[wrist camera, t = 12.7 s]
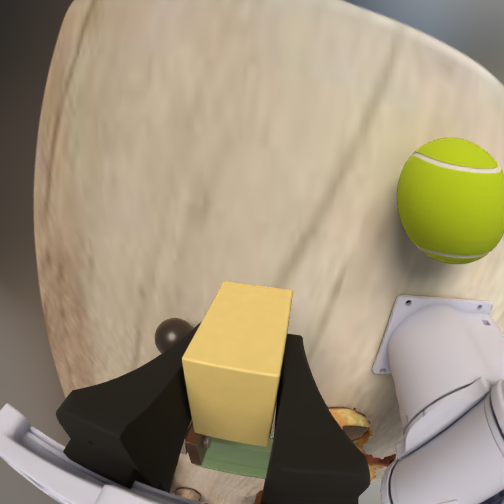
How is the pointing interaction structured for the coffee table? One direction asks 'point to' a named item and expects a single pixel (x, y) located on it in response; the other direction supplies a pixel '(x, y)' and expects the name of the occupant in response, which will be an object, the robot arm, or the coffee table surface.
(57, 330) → the coffee table surface
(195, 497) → the sculpture
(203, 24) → the coffee table surface
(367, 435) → the bone
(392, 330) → the robot arm
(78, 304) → the coffee table surface
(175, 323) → the lever
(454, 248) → the tennis ball
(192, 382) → the block
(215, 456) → the butter dish
